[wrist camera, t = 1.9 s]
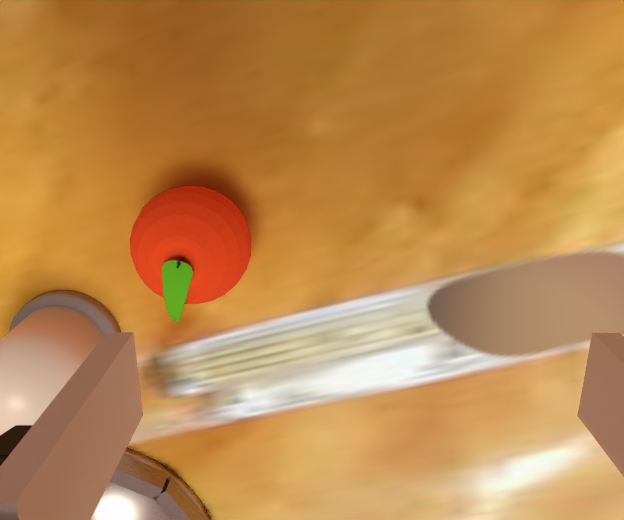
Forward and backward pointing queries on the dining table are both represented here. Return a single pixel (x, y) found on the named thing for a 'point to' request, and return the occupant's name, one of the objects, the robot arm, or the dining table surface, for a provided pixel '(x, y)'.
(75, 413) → the robot arm
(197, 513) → the round tray
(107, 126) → the dining table surface
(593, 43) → the dining table surface
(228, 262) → the clementine
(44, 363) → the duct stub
